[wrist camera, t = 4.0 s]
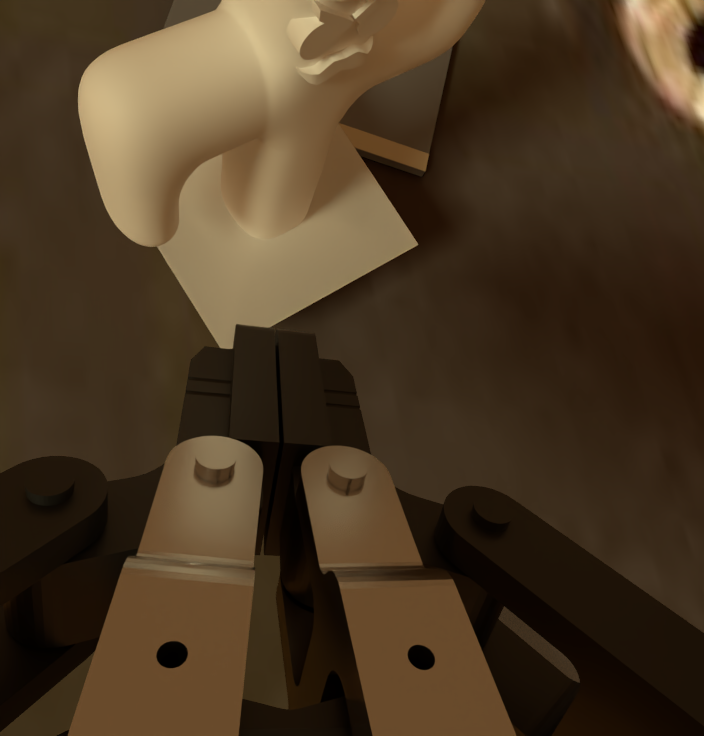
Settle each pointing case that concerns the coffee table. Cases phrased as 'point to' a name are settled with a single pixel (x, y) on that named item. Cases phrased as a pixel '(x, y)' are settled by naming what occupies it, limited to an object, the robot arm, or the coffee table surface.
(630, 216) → the coffee table surface
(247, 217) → the figurine
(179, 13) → the felt mat
